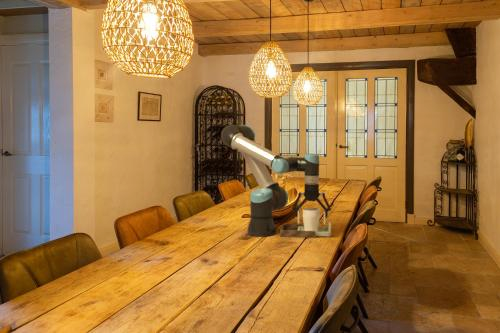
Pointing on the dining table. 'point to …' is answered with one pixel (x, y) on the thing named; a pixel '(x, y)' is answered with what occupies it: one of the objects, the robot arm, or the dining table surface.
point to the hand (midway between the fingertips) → (311, 223)
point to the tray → (320, 230)
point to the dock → (295, 231)
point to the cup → (311, 219)
